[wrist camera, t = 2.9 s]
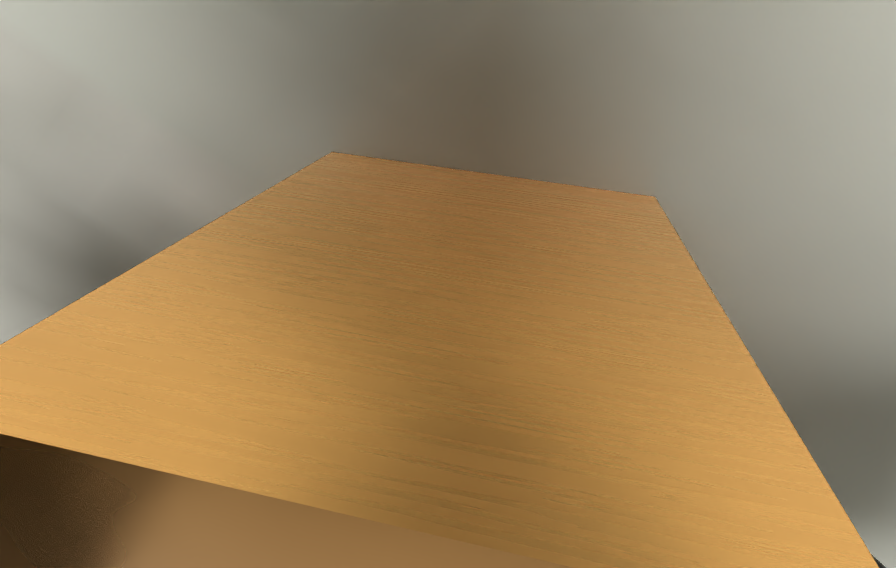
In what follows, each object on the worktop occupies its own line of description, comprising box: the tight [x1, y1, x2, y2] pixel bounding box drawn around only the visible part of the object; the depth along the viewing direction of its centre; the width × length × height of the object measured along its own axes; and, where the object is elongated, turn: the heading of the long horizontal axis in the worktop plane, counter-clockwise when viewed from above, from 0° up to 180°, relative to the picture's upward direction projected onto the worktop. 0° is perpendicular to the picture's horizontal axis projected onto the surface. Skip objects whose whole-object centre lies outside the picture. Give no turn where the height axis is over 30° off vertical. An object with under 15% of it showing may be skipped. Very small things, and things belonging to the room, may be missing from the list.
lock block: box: [0, 152, 879, 568], centre depth 7 cm, size 5×7×6 cm
